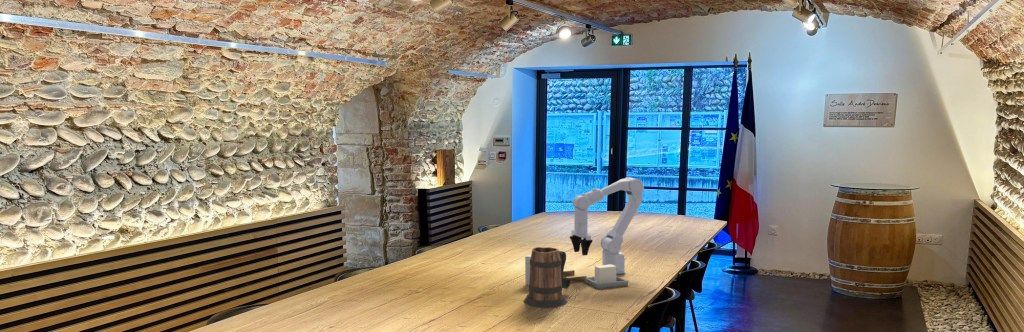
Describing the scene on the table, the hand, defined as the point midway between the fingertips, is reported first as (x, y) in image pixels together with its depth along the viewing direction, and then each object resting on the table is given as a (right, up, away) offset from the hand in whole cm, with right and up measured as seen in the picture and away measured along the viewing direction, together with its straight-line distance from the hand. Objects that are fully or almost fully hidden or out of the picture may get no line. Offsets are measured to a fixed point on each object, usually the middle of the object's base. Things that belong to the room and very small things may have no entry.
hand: (580, 253), depth 284 cm
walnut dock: (-5, -10, -7) cm, 13 cm away
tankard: (-16, -13, -38) cm, 43 cm away
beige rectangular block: (+9, -10, -16) cm, 21 cm away
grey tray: (+9, -11, -16) cm, 21 cm away
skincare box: (-22, -11, -15) cm, 29 cm away
